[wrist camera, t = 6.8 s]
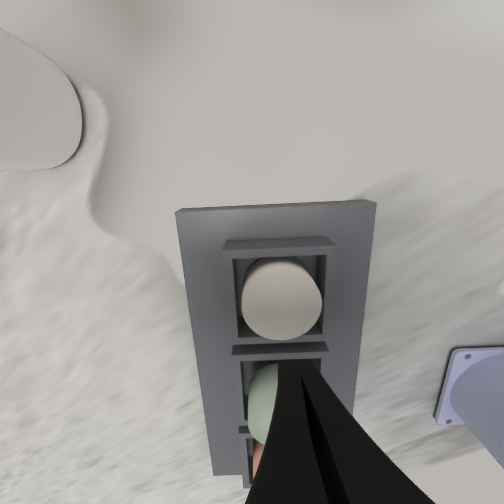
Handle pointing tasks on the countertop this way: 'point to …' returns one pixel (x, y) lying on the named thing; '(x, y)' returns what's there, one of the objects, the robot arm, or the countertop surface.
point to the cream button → (280, 298)
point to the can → (35, 109)
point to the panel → (230, 305)
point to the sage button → (262, 401)
